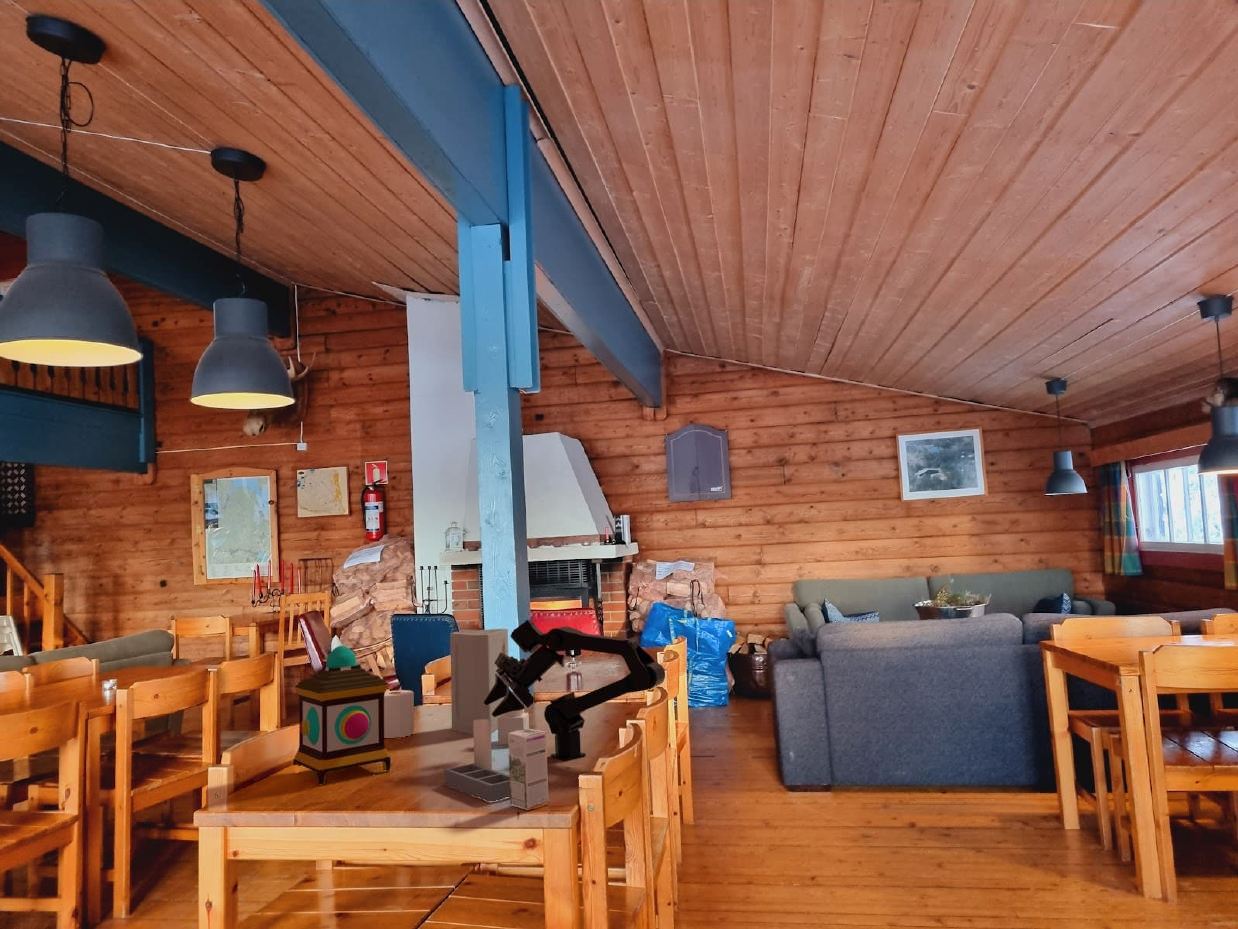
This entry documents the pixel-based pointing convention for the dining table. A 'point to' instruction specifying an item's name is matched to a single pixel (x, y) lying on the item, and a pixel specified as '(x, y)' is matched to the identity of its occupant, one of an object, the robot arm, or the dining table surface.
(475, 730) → the beige tapered cylinder
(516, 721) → the medicine bottle
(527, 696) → the robot arm
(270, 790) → the dining table surface
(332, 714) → the decorative lantern
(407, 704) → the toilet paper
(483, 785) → the caddy
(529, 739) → the syrup box
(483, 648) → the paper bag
